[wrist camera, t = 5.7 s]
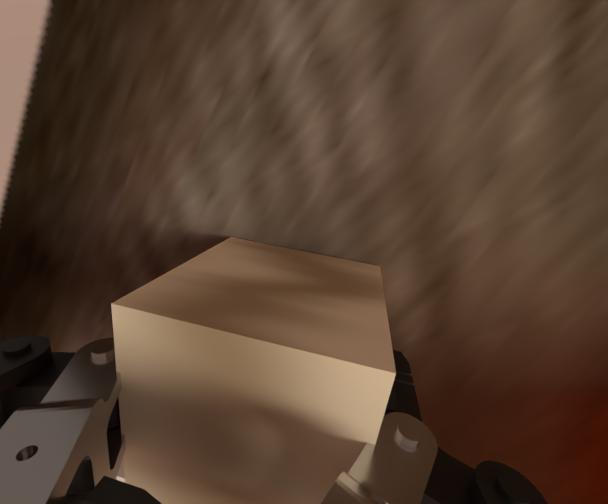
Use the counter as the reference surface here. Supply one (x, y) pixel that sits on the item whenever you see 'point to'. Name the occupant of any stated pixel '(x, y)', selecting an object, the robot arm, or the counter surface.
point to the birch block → (251, 375)
